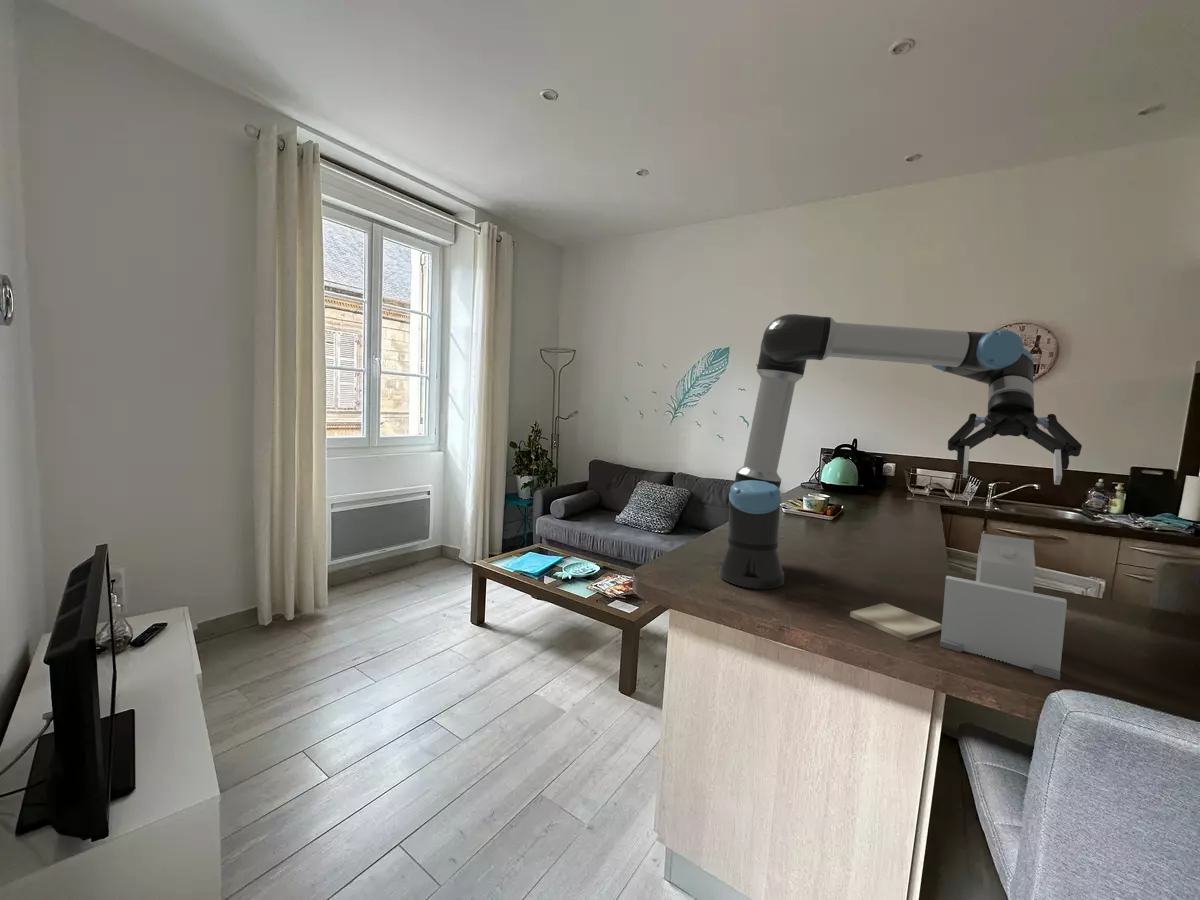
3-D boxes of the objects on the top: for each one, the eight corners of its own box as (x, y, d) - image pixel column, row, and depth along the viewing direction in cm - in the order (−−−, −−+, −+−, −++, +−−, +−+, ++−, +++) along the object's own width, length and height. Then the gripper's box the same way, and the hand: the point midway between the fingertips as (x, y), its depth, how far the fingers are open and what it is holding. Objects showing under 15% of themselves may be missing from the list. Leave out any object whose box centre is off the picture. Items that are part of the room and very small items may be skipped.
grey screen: (939, 646, 81) (945, 579, 80) (942, 638, 84) (947, 574, 83) (1059, 680, 71) (1067, 604, 70) (1057, 669, 74) (1065, 597, 73)
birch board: (850, 616, 93) (850, 611, 92) (884, 607, 97) (884, 602, 97) (906, 641, 83) (907, 635, 83) (941, 629, 88) (942, 624, 88)
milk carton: (971, 626, 89) (980, 529, 88) (1021, 637, 85) (1030, 536, 84) (974, 640, 83) (983, 537, 82) (1027, 653, 79) (1037, 544, 78)
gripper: (1089, 414, 95) (1098, 496, 85) (939, 413, 111) (931, 482, 100) (1097, 387, 91) (1107, 469, 80) (939, 390, 106) (931, 459, 96)
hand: (1009, 477), depth 90 cm, fingers open, 13 cm apart
